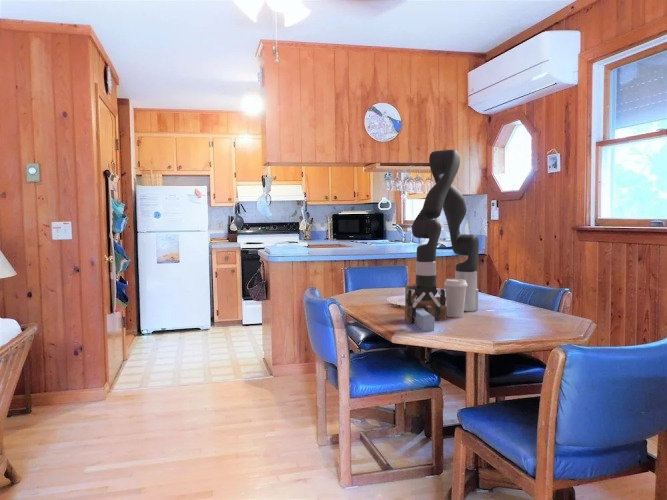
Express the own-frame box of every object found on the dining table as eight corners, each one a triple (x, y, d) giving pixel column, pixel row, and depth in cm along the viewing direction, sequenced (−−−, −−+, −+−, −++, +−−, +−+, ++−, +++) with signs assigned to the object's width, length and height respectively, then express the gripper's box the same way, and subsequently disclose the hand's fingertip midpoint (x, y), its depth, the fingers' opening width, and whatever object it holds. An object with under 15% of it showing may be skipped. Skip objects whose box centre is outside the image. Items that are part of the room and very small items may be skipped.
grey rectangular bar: (434, 331, 180) (434, 316, 180) (423, 331, 180) (423, 316, 179) (423, 321, 196) (423, 308, 196) (412, 321, 196) (412, 308, 195)
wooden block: (443, 318, 202) (444, 284, 201) (449, 322, 194) (450, 286, 193) (402, 318, 200) (402, 284, 199) (407, 323, 192) (407, 287, 192)
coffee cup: (462, 319, 200) (463, 282, 199) (439, 316, 205) (440, 280, 204) (469, 315, 208) (470, 279, 207) (447, 312, 213) (448, 278, 212)
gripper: (409, 275, 179) (409, 319, 181) (448, 274, 180) (447, 318, 182) (404, 272, 187) (404, 315, 188) (441, 271, 188) (441, 314, 189)
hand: (425, 316), depth 185 cm, fingers open, 8 cm apart
